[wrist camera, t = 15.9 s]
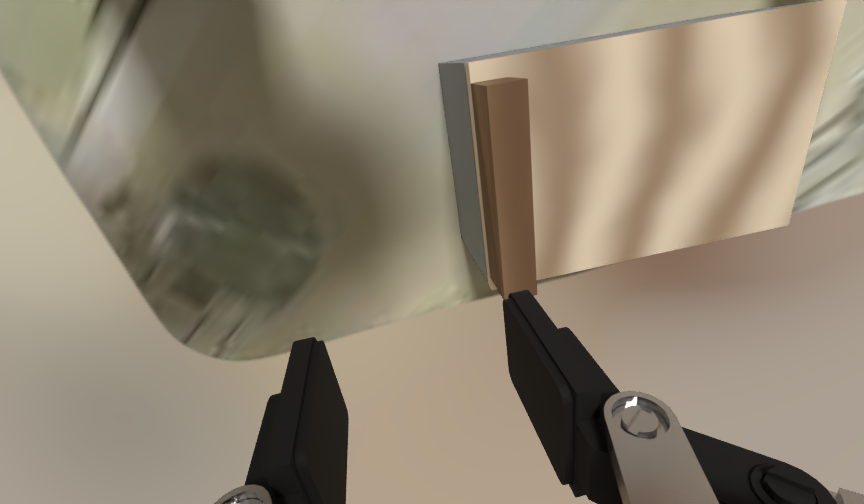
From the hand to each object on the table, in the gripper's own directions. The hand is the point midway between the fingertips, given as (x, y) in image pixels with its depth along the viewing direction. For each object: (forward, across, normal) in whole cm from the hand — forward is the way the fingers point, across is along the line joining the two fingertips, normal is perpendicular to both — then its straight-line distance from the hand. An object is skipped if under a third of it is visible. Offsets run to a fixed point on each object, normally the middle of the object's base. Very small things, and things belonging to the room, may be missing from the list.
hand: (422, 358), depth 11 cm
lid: (+14, -16, 0) cm, 22 cm away
